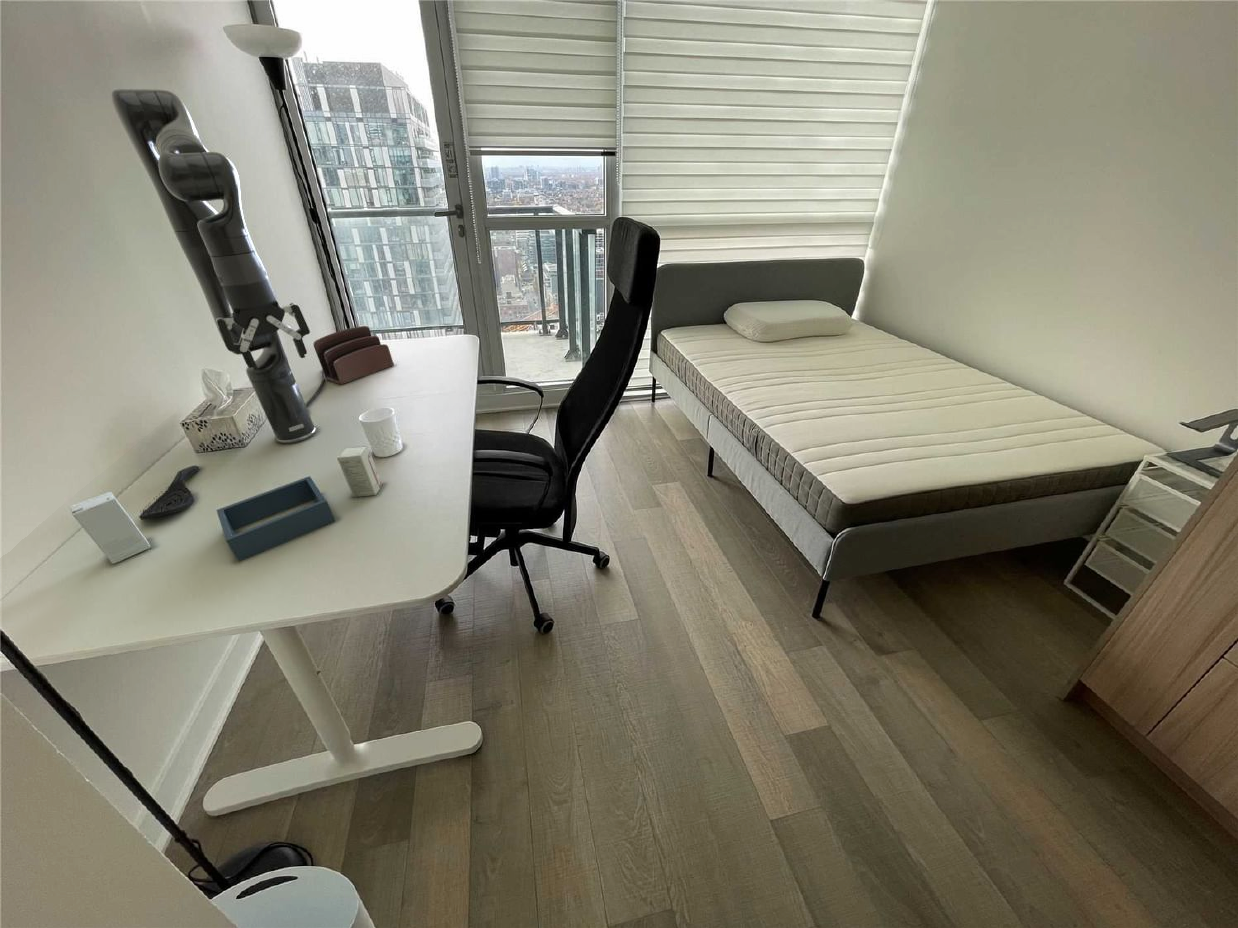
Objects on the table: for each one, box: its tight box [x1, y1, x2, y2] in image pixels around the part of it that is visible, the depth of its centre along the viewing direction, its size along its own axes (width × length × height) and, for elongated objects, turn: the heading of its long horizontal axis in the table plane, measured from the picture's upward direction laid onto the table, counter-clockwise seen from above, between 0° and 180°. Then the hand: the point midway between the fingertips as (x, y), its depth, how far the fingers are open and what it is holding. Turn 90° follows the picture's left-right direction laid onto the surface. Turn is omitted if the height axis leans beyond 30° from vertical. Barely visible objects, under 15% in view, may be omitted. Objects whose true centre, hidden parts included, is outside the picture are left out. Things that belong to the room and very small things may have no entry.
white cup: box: [358, 406, 403, 458], centre depth 125 cm, size 8×8×10 cm
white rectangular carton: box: [336, 445, 383, 498], centre depth 110 cm, size 5×4×10 cm
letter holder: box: [313, 325, 395, 386], centre depth 172 cm, size 10×20×14 cm, turn 144°
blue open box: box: [216, 475, 336, 562], centre depth 102 cm, size 13×17×5 cm
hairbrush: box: [138, 465, 200, 521], centre depth 114 cm, size 8×4×25 cm
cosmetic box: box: [69, 491, 151, 565], centre depth 95 cm, size 6×4×12 cm
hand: (279, 362), depth 103 cm, fingers open, 8 cm apart
